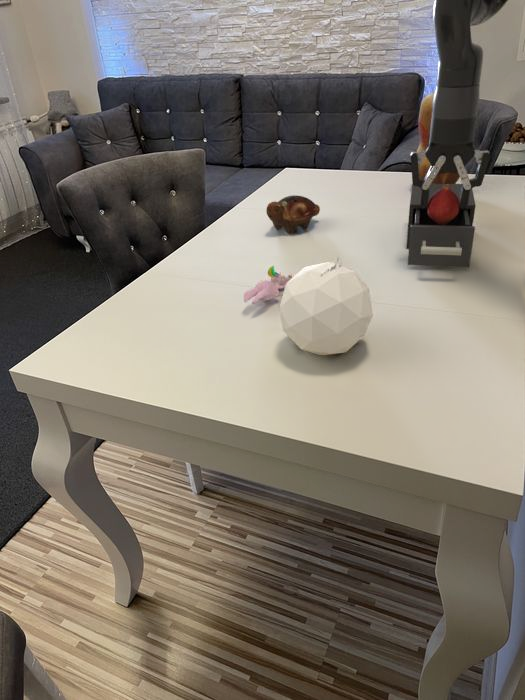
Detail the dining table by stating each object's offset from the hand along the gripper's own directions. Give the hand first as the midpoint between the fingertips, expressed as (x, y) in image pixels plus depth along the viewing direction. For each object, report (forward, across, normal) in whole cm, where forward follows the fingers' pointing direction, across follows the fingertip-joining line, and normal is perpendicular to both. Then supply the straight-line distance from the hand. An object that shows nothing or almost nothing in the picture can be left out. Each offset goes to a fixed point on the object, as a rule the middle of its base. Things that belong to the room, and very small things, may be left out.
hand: (443, 207), depth 102 cm
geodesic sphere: (+11, -17, -35) cm, 41 cm away
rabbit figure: (+11, -30, -20) cm, 38 cm away
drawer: (+10, 0, -1) cm, 10 cm away
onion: (+4, 0, 0) cm, 4 cm away
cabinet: (+11, 0, +13) cm, 17 cm away
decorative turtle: (+11, -33, +16) cm, 38 cm away
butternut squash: (+11, 0, +47) cm, 48 cm away
